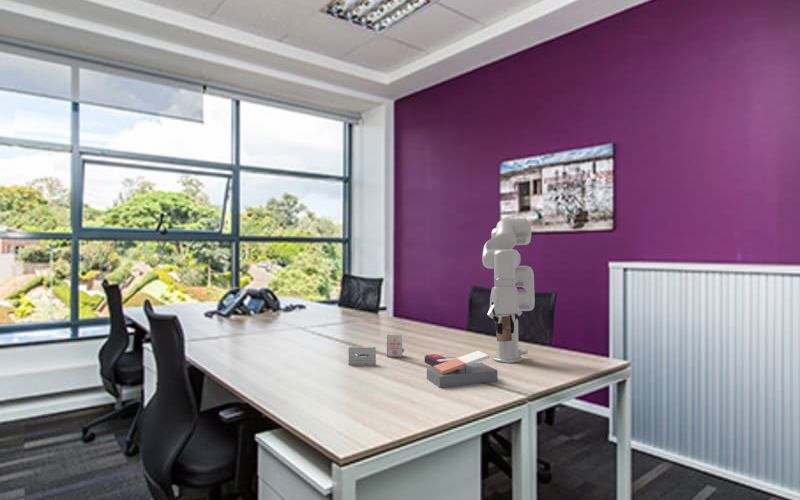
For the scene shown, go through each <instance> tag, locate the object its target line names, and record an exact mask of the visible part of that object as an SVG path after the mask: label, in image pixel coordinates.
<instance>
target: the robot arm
mask: <svg viewBox="0 0 800 500" xmlns="http://www.w3.org/2000/svg"><path fill="white" fill-rule="evenodd" d="M490 236H491V238H490V239H488V240H487V241H486V242H485V244H484V245H483V249H482V256H481V257H482V258H481V259H482V260H481V262H482V265H483V267H485V268H486V269H493V281H494V282H493V284H494V286H493V287H491V292H490V297H489V310H488V312H487V316H488V317H489V318H491V319H492V320H493V321H494V323H495V322H496V324H495V332H496V331H497V333H498V334H503V324H502V323H501V319H502V316H510V322H511V323H510V324H511V334H512V341H505V342H500V341H497V340H496V354H494V355H493V356H492V359H493V360H494V361H496V362H499V363H508V364H509V363H510V364H511V363H512V364H513V363H519V362H521V361H523V358H522V355H528V353H529V352H528V350H527V349H523V350H522V349H519V320H518V318H519V317H520V316H521V315H522V314H523V312H530V311H533V309H534V308H535V302H536V300H535V299H536V297H535V296H536V295H535V274H534V270H533V268H532V267H531V266H529V265H520V264H521V261H522V260H521V259H522V257H521V254H520V253H519V251H518V250H517V249H514V248H515V246H525V245H529V244H530V243H531V240H532V224H531V222H530V221H529V220H528V219H526V218H504V219H501V220H499V221H498V222H497V224H496V227H495V228H493V229H492V231H491V235H490ZM518 287H519V289H518ZM520 287H521V288H523V289H520Z"/></svg>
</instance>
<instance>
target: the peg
mask: <svg viewBox="0 0 800 500" xmlns="http://www.w3.org/2000/svg"><path fill="white" fill-rule="evenodd" d="M494 323H495V325H496V322H495V321H494ZM501 323H502V324H503V334H498V333H497V331H496V330H495V333H496V342H497V341H500V342H505V341H512V334H511V324H510V323H511V322H510V316H502V319H501Z"/></svg>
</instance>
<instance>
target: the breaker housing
mask: <svg viewBox="0 0 800 500" xmlns="http://www.w3.org/2000/svg"><path fill="white" fill-rule="evenodd" d="M498 374H499V373H498V369H495V368H493V367H491V366H490V365H488V364H486V363H483V362H477V363H474V364H471V365H468V366H466V367H463V368H460V369H457V370H454V371H451V372H449V373H446V374H441V373H440V372H438V371H436V370H435V369H434V367H428V368H426V380H428V381H429V382H431V383H432V384H434V386H436V387H438V388H439V389H440V388H448V387H457V386H458V387H459V386H465V385H473V384H475V385H476V384H481V383H490V382H498V377H499V376H498Z"/></svg>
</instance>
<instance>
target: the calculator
mask: <svg viewBox="0 0 800 500" xmlns="http://www.w3.org/2000/svg"><path fill="white" fill-rule="evenodd" d="M455 358H458V356H455V355H454V354H453V355H452V354H449V353H446V352H443V353H436V354H435V353H434V354H425V356H424V363H425V364H427V365H429V366H431V367H432V368H434V366H435V365H438V364H441V363H444V362H447V361H450V360H452V359H455Z"/></svg>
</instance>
